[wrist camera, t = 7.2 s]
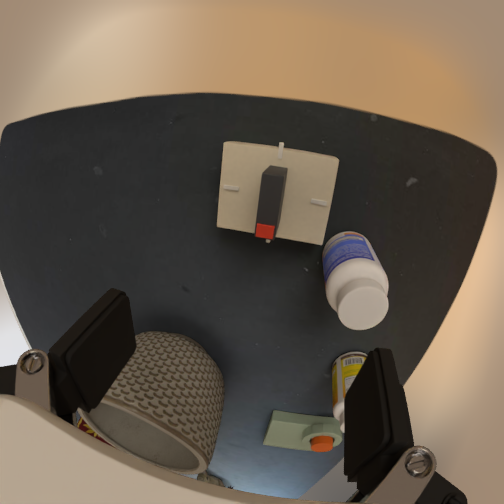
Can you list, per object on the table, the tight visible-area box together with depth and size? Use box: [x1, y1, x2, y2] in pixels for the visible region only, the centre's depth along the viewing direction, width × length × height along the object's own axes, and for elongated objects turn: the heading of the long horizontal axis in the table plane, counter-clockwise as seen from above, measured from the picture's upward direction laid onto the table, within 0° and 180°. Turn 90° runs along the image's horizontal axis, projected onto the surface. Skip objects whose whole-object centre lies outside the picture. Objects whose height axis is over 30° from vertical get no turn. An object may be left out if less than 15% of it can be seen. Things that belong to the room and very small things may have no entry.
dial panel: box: [217, 141, 339, 245], centre depth 26 cm, size 10×9×3 cm
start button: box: [311, 436, 333, 452], centre depth 37 cm, size 4×4×2 cm
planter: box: [77, 331, 225, 474], centre depth 32 cm, size 17×17×16 cm
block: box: [263, 410, 342, 451], centre depth 41 cm, size 12×11×4 cm
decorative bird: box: [197, 470, 234, 489], centre depth 59 cm, size 5×16×7 cm, turn 23°
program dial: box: [254, 165, 288, 241], centre depth 22 cm, size 5×2×5 cm, turn 173°
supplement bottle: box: [332, 352, 367, 433], centre depth 30 cm, size 6×6×10 cm
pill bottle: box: [322, 231, 389, 330], centre depth 24 cm, size 5×5×10 cm
